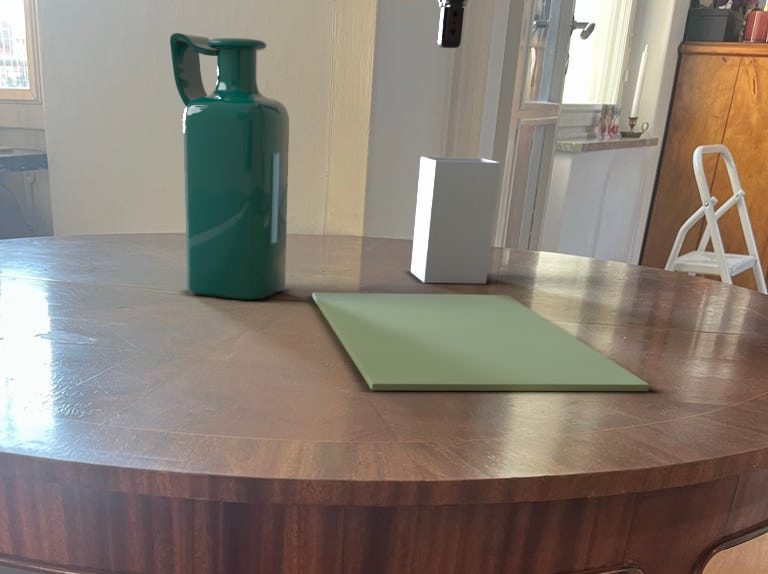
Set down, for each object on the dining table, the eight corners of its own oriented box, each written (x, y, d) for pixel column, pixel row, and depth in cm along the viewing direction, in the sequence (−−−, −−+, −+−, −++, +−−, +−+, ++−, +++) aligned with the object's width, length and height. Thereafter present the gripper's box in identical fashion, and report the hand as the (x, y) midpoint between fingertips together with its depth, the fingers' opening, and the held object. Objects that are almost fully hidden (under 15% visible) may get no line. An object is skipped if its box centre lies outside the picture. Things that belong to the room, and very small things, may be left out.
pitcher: (291, 289, 99) (298, 38, 88) (258, 302, 92) (261, 32, 81) (206, 280, 102) (203, 37, 91) (168, 293, 95) (159, 31, 84)
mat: (507, 300, 97) (507, 294, 97) (648, 391, 68) (650, 384, 67) (312, 297, 95) (312, 292, 95) (371, 390, 66) (372, 383, 65)
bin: (469, 273, 111) (482, 158, 105) (486, 283, 105) (501, 162, 99) (410, 272, 110) (420, 156, 105) (424, 282, 104) (435, 160, 98)
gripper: (524, -166, 91) (498, 46, 100) (486, -138, 103) (466, 51, 111) (447, -171, 90) (428, 44, 99) (418, -142, 102) (403, 48, 111)
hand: (448, 47), depth 105 cm, fingers closed
